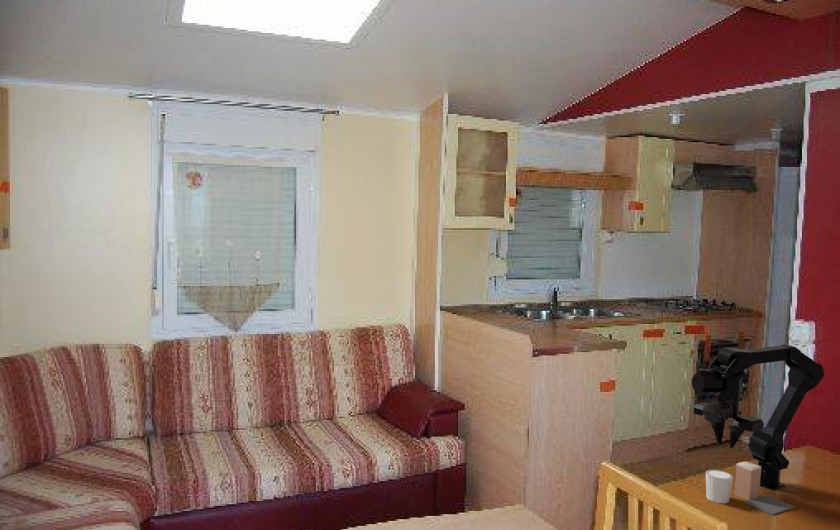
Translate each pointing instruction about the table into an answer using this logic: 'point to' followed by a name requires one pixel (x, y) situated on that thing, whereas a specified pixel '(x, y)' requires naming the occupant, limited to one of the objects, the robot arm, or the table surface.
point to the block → (747, 480)
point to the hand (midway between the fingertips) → (725, 445)
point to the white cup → (718, 486)
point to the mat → (769, 505)
